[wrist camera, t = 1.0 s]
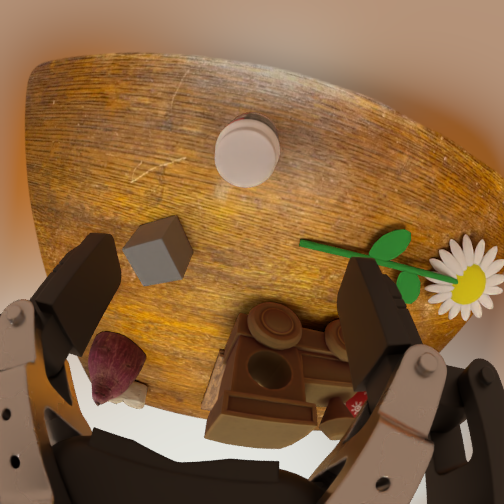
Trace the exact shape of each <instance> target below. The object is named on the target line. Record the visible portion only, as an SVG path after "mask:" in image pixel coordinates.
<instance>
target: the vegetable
mask: <svg viewBox="0 0 504 504" xmlns="http://www.w3.org/2000/svg"><path fill="white" fill-rule="evenodd" d="M145 359H146V356H145V354H144V352H143V351H142V350H141V349H140V348H139V347H138V346H137V345H136V344H134V343H133V342H132V341H131V340H130V339H128V338H126V337H125V336H123V335H120V334H117V333H112V332H102V333H99V334H98V335H97V336H96V337H95V339H94V341H93V344H92V346H91V349H90V352H89V359H88V366H89V373H90V378H91V383H92V397H93V400H94V402H95V403H96V405H97V406H99V405H100V404H103V403H105V402H107V401H109V400H111V399H114V398H116V397H118V396H120V395H121V394H123V393H124V392H125V391H126V390H127V389H128V388H129V386H130V385H131V384H132V383H133V382H134V380H135V379H136V377H137V376H138V374H139V372H140V371H141V369H142V367H143V365H144V362H145Z"/></svg>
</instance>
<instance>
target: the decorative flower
mask: <svg viewBox="0 0 504 504" xmlns="http://www.w3.org/2000/svg"><path fill="white" fill-rule="evenodd" d="M410 241H411V232H409V231H407V230H405V229H399V230H394V231H392V232H389V233H387V234H385V235H383V236H382V237H381V238H380V239H379V240H377V241H376V242H375V243H374V245H373V247H372V248H371V250H370V251H369V255H365V254H361V253H357V252H353V251H349V250H345V249H341V248H337V247H332V246H328V245H324V244H320V243H316V242H311V241H307V240H303V239H301V240H300V244H299V246H301V247H305V248H309V249H313V250H318V251H322V252H326V253H330V254H335V255H339V256H343V257H347V258H351V257H353V256H355V257H365V258H374V259H375V260H376V262H377V264H378V265H380V266H384V267H388V268H393V269H397V270H401V271H402V272H401V273H400V274H399V277H398V279H397V287H398V289H399V291H400V293H401V295H402V299H404V302H405V303H407V304H412V303H413V302H414V301H415V300H416V299H417V298H418V296H419V294H420V284H421V283H420V280H419V278H418V275H420V276H424V277H426V278H427V279H428V280H429V281H431V282H434V283H437V284H431V285H428V286H426V287H425V288H424V289H425V290H427V291H430V292H437V293H438V294H436V295H434V296H432V297H431V298H430V299H429V300H428V302H429V303H431V304H433V303H440V302H443V301H444V302H443V303H442V305H441V306H440V309H439V311H438V313H439V315H442V314H444V313H446V312H447V311H448V310H449V309H450V311H449V316H448V317H449V319H453V318H454V317H455V316H457V314H458V313H459V311H460V310H461V315H462V318H463V320H465V321H466V320H467V319H468V318H469V316H470V310H472V312H473V313H474V315H475V316H476V317H478V318H481V316H482V309H481V304H482V305H483V306H484V307H486V308H488V309H493V302H492V300H491V299H490V297H489V295H497V294H500V293H502V292H503V290H502V289H501V288H500V287H498V286H496V285H499V284H501V283H502V282H504V275H501V274H495V273H497V272H498V271H499V270H500V269H501V268H502V267H503V266H504V260H503V259H500V260H496V261H494V262H493V260H494V259H495V256H496V253H497V246H494V247H492V248H491V249H490V250H489V251H488V252H487V253H486V255H485V256H484V257H483V254H484V248H485V242H484V240H483V239H482V240H481V241H480V242H479V243H478V245H477V247H476V250H475V252H474V253H473V247H472V243H471V240H470V238H469V236H468V235H466V234H465V235H464V237H463V244H462V245H463V251H462V249H461V247H460V246H459V244H458V243H457V242H456V241H454V240H452V239H450V243H449V244H450V248H451V252H452V254H453V255H452V254H450V253H449V252H448V251H446V250H443V249H441V250H439V255H440V257H441V259H442V261H443V262H444V263H443V262H442V261H440V260H437V259H434V258H432V259H429V260H430V263H431V265H432V266H433V268H434V269H435V270H436V271H438V272H434V271H432V272H431V271H427V270H424V269H420V268H416V267H412V266H408V265H405V264H401V263H397V262H393V261H390V260H392V259H394V258H396V257H398V256H399V255H400V254H401V253H402V252H403V251H405V249H406V248H407V246H408V245H409V243H410ZM482 258H483V259H482ZM487 294H488V295H487ZM478 300H479V301H478ZM480 303H481V304H480Z"/></svg>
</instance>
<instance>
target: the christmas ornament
mask: <svg viewBox="0 0 504 504" xmlns="http://www.w3.org/2000/svg"><path fill="white" fill-rule="evenodd" d="M367 399H368V398H367V392H366V391H361V392H357V393H356V394H355V395H354V396H353V397H352V398H350V399H349V400H348V401H347V402H345V403H344V404H345V405H346V407H347V408H348V409H349V411H350V412H351V414H352V415H353V416H354V418H355V417H356V415H357V414H358V412H359V411H360V409H361V407H362V405H363V404H364V402H365V401H366V400H367Z"/></svg>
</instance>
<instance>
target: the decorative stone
mask: <svg viewBox="0 0 504 504" xmlns="http://www.w3.org/2000/svg"><path fill="white" fill-rule="evenodd" d="M146 393H147V386H145V385H144V384H141V383H139V382H133V383H132V384H131V385H130V386H129V388H128V389H127V390H126V391H125V392H124V393H123V394H121V395H120V396H118V397H116V398H114V399H111V400H109V401H108V402H112V403H115V404H117V403H120V402H122V401H123V402H124V403H125V404H127V405H128V406H130V407H133V408H136V409H141V408H143V407H144V404H145V398H146Z"/></svg>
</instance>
